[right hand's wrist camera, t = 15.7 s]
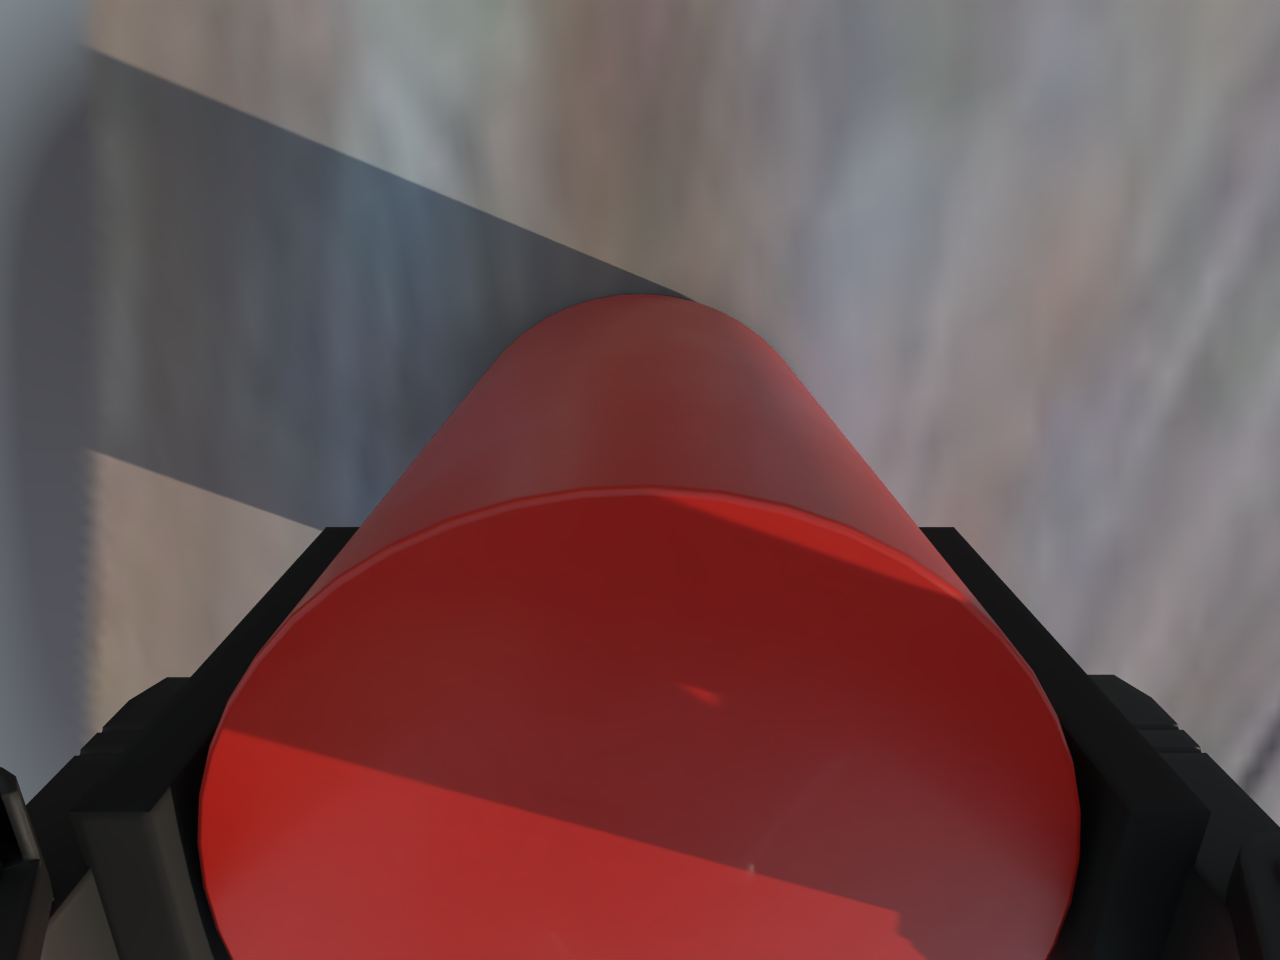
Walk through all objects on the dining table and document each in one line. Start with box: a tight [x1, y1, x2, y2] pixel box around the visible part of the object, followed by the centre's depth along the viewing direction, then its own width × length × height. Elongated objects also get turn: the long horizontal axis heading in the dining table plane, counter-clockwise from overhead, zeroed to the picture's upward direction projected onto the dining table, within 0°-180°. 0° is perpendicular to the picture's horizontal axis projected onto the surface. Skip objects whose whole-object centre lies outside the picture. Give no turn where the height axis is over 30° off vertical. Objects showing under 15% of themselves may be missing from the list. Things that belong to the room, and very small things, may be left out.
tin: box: [197, 294, 1081, 960], centre depth 14 cm, size 9×9×12 cm
